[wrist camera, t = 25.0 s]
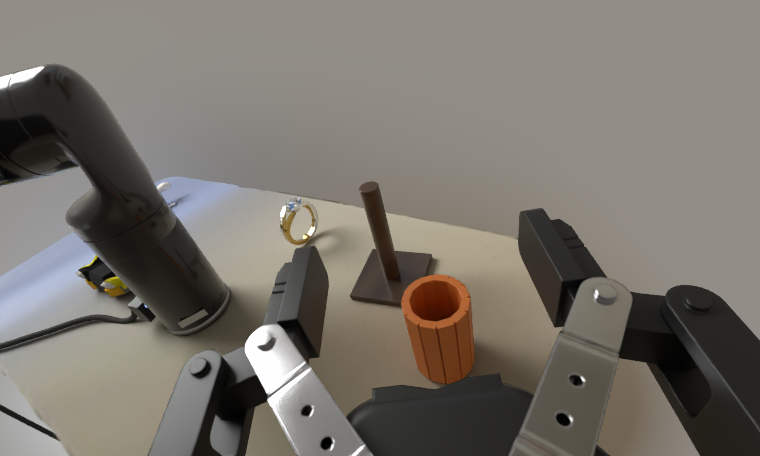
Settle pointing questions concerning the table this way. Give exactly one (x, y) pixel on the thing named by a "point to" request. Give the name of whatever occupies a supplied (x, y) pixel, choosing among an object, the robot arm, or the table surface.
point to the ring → (285, 225)
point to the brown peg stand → (385, 258)
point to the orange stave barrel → (440, 327)
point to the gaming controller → (102, 278)
